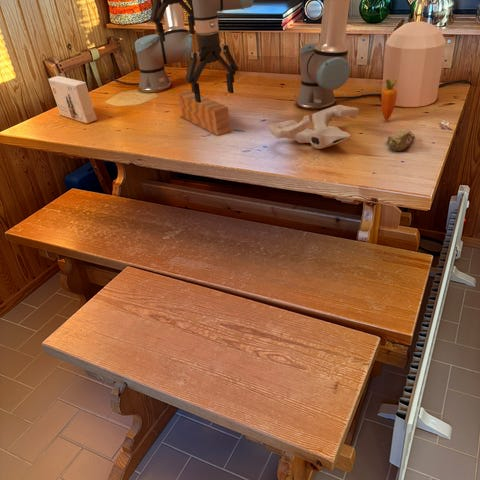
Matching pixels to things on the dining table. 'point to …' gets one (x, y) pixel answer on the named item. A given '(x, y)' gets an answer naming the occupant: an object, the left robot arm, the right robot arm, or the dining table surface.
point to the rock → (400, 140)
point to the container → (414, 63)
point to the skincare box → (72, 99)
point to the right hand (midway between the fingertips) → (214, 97)
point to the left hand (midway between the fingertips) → (177, 37)
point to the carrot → (388, 99)
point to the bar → (205, 113)
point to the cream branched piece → (316, 128)
